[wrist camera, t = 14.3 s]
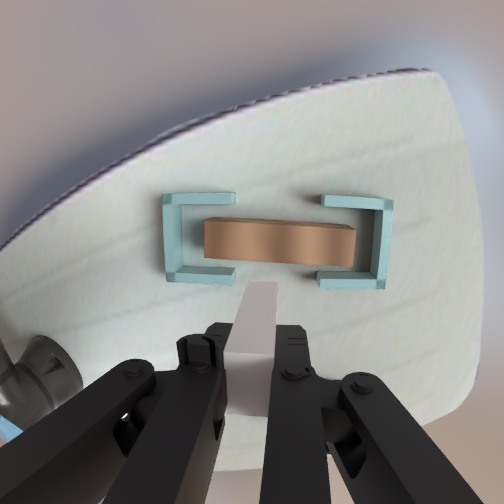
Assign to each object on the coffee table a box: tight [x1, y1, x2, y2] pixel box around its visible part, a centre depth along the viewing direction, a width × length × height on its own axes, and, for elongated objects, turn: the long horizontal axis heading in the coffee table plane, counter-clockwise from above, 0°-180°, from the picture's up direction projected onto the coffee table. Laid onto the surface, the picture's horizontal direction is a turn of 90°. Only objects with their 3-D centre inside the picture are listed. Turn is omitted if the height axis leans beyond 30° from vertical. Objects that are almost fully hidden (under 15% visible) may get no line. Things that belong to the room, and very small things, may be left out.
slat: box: [204, 217, 356, 267], centre depth 31 cm, size 16×4×4 cm, turn 88°
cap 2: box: [317, 195, 393, 289], centre depth 31 cm, size 8×10×3 cm
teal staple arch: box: [162, 192, 236, 286], centre depth 32 cm, size 8×10×3 cm
